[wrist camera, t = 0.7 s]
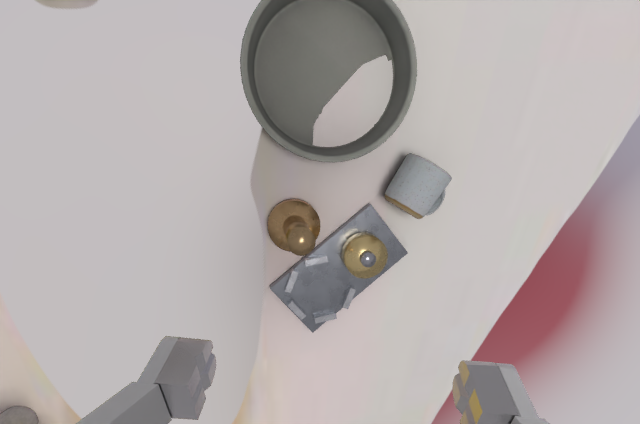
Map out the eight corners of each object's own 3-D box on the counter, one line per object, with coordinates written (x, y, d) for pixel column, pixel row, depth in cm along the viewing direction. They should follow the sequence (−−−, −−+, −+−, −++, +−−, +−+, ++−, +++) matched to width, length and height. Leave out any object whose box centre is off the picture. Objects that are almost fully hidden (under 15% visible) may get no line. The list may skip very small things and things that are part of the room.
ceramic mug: (374, 195, 55) (394, 204, 47) (400, 150, 54) (424, 153, 46) (423, 223, 58) (449, 236, 50) (448, 182, 57) (478, 189, 49)
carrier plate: (268, 284, 54) (270, 297, 50) (367, 202, 55) (377, 207, 50) (312, 329, 58) (317, 345, 53) (405, 251, 58) (418, 261, 53)
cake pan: (235, 150, 49) (233, 151, 45) (248, -36, 44) (248, -55, 40) (390, 168, 54) (402, 171, 50) (416, 3, 50) (432, -10, 45)
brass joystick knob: (257, 221, 52) (257, 240, 42) (296, 188, 52) (306, 199, 42) (289, 257, 54) (297, 282, 44) (327, 225, 54) (343, 244, 45)
